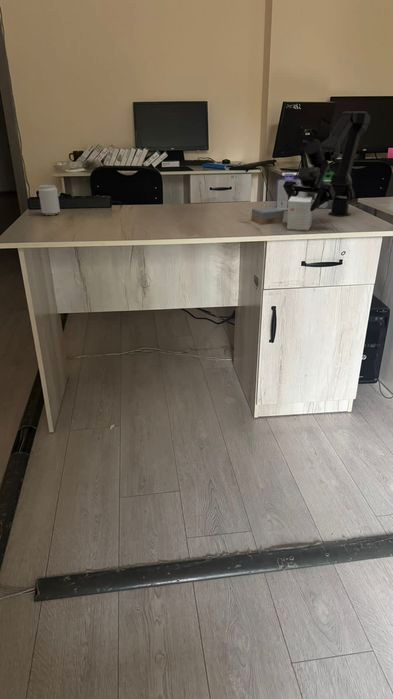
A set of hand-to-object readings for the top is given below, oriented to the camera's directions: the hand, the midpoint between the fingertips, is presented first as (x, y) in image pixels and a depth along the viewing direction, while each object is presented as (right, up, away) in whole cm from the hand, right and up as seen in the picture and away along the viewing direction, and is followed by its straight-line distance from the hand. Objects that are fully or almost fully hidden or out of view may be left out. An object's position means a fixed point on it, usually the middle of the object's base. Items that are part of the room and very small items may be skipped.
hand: (299, 209), depth 181 cm
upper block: (-9, +2, +15) cm, 18 cm away
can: (-99, +7, +35) cm, 105 cm away
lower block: (-9, -1, +16) cm, 19 cm away
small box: (+1, -6, +4) cm, 7 cm away
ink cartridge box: (+3, +10, +38) cm, 40 cm away
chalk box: (+20, +13, +43) cm, 49 cm away
